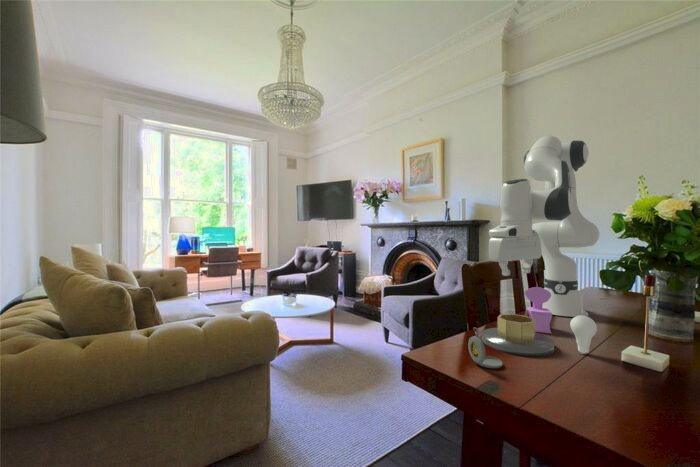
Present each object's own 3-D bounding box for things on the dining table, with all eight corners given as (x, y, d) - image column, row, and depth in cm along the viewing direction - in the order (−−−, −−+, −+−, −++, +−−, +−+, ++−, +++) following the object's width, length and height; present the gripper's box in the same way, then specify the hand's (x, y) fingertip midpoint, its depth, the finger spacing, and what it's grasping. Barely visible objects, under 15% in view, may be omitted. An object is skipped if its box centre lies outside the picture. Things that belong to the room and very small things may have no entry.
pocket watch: (506, 364, 81) (506, 326, 81) (494, 374, 75) (494, 334, 75) (475, 355, 87) (475, 320, 87) (462, 364, 81) (462, 327, 81)
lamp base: (488, 329, 110) (488, 307, 110) (555, 340, 99) (555, 316, 99) (475, 346, 94) (475, 320, 94) (553, 362, 82) (553, 332, 82)
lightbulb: (601, 359, 85) (601, 319, 84) (575, 356, 86) (575, 318, 86) (590, 350, 90) (590, 313, 90) (566, 348, 92) (566, 312, 92)
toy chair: (528, 332, 108) (528, 289, 108) (523, 325, 116) (523, 285, 116) (555, 335, 105) (555, 291, 105) (549, 327, 113) (549, 287, 113)
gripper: (528, 229, 103) (528, 270, 104) (484, 231, 95) (485, 275, 95) (547, 229, 98) (547, 273, 98) (502, 231, 89) (502, 278, 89)
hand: (516, 274), depth 96 cm, fingers open, 8 cm apart
